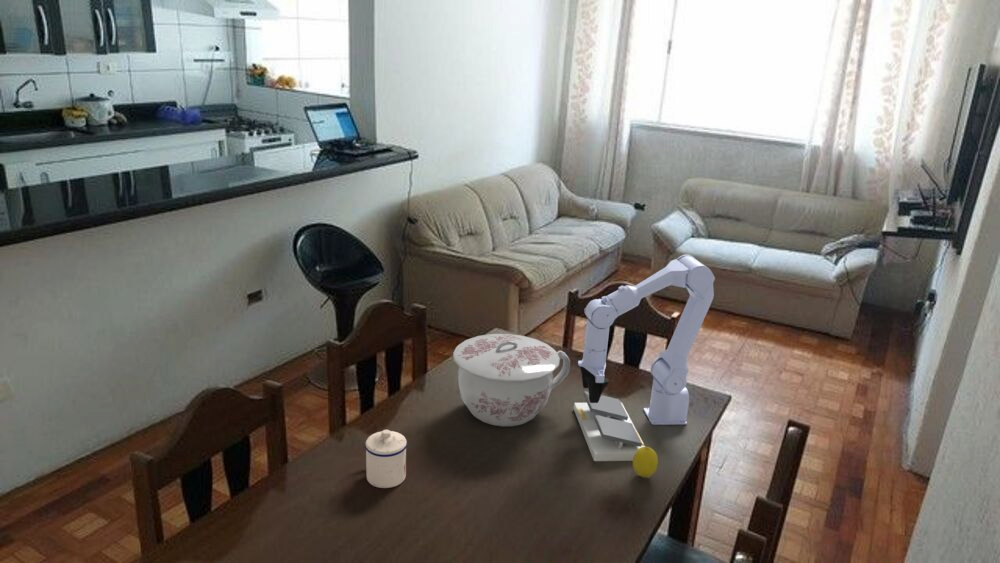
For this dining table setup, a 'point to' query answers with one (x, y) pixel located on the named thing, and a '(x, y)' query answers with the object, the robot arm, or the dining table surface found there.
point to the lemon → (645, 461)
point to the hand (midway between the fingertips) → (590, 394)
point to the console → (601, 446)
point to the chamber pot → (507, 377)
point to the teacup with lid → (386, 459)
